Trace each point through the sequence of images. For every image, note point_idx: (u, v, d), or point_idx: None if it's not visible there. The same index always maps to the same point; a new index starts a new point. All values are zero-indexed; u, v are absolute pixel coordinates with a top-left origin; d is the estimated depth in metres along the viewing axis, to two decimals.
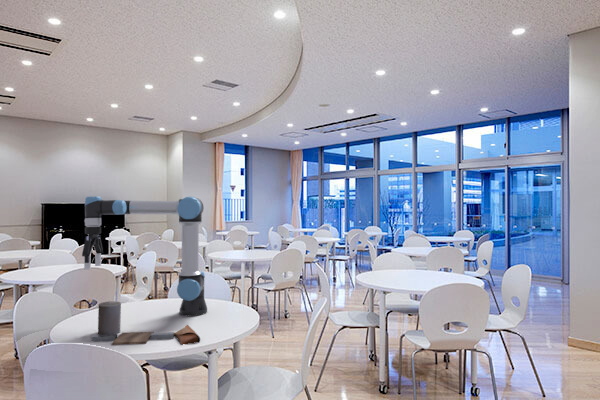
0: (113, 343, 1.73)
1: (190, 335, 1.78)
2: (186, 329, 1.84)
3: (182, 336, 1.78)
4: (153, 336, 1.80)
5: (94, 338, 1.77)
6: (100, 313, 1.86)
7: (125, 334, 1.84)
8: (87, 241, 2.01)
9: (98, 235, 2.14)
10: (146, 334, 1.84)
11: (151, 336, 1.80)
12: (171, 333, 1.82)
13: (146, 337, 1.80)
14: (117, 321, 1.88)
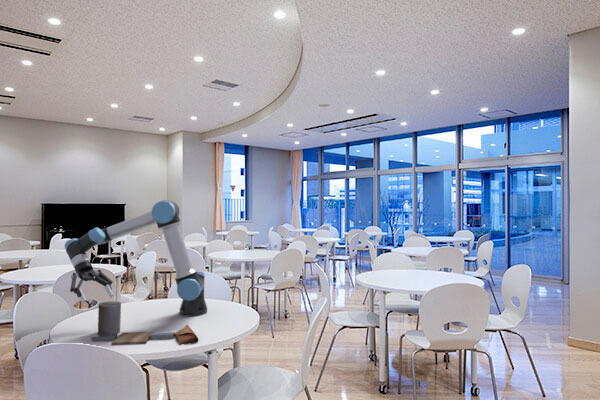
0: (113, 343, 1.73)
1: (188, 335, 1.77)
2: (185, 329, 1.83)
3: (181, 336, 1.78)
4: (153, 336, 1.80)
5: (94, 338, 1.77)
6: (100, 313, 1.86)
7: (125, 334, 1.84)
8: (73, 278, 1.94)
9: None
10: (146, 334, 1.84)
11: (151, 336, 1.80)
12: (171, 333, 1.82)
13: (146, 337, 1.80)
14: (117, 321, 1.88)
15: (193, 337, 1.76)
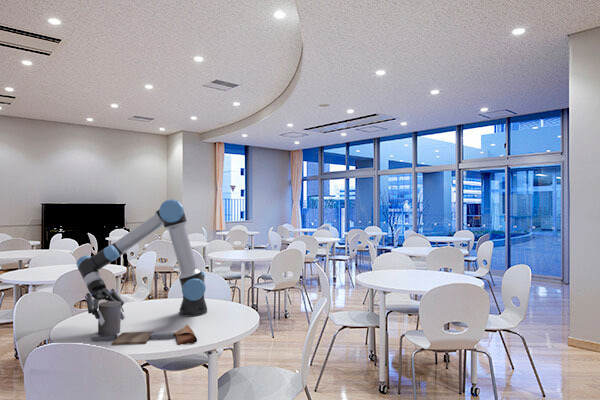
0: (113, 343, 1.73)
1: (187, 335, 1.77)
2: (185, 329, 1.84)
3: (180, 336, 1.78)
4: (153, 336, 1.80)
5: (94, 338, 1.77)
6: None
7: (125, 334, 1.84)
8: (87, 299, 1.88)
9: (111, 289, 2.00)
10: (146, 334, 1.84)
11: (151, 336, 1.80)
12: (171, 333, 1.82)
13: (146, 337, 1.80)
14: (117, 321, 1.88)
15: (192, 337, 1.76)
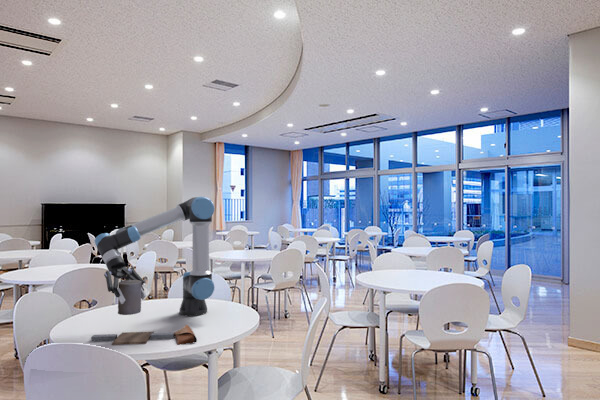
0: (113, 343, 1.73)
1: (187, 335, 1.77)
2: (185, 329, 1.84)
3: (179, 336, 1.78)
4: (153, 336, 1.80)
5: (94, 338, 1.77)
6: None
7: (125, 334, 1.84)
8: (107, 277, 1.80)
9: None
10: (146, 334, 1.84)
11: (151, 336, 1.80)
12: (171, 333, 1.82)
13: (146, 337, 1.80)
14: (138, 300, 1.80)
15: (191, 337, 1.76)
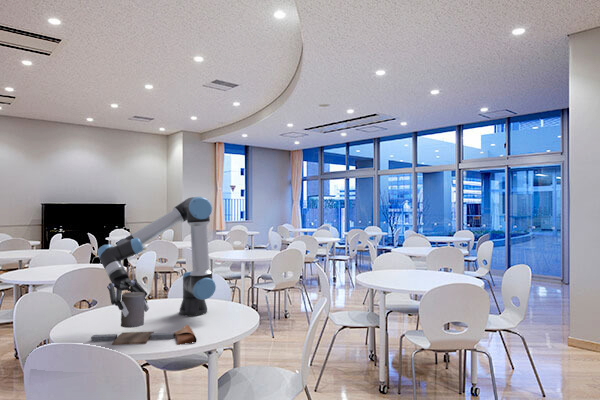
0: (113, 343, 1.73)
1: (187, 335, 1.78)
2: (184, 329, 1.84)
3: (179, 336, 1.79)
4: (153, 336, 1.80)
5: (94, 338, 1.77)
6: None
7: (125, 334, 1.84)
8: (110, 289, 1.79)
9: (133, 280, 1.90)
10: (146, 334, 1.84)
11: (151, 336, 1.80)
12: (171, 333, 1.82)
13: (146, 337, 1.80)
14: (141, 312, 1.79)
15: (191, 337, 1.76)
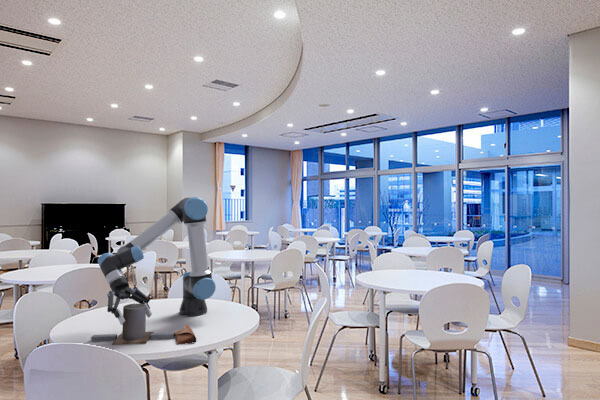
0: (113, 343, 1.73)
1: (187, 335, 1.78)
2: (184, 329, 1.84)
3: (179, 336, 1.79)
4: (153, 336, 1.80)
5: (94, 338, 1.77)
6: (125, 316, 1.77)
7: None
8: (109, 297, 1.79)
9: None
10: (146, 334, 1.84)
11: (151, 336, 1.80)
12: (171, 333, 1.82)
13: (146, 337, 1.80)
14: (143, 324, 1.79)
15: (191, 337, 1.76)
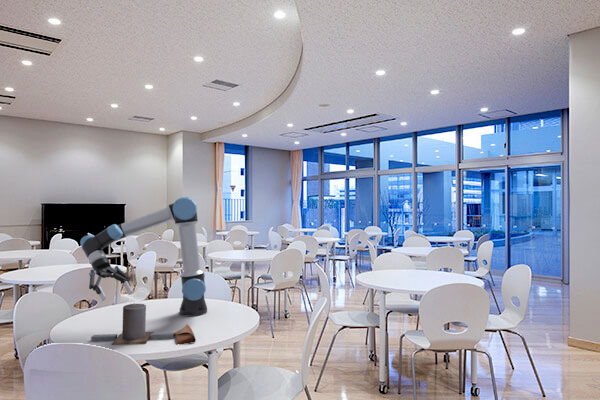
0: (113, 343, 1.73)
1: (186, 335, 1.78)
2: (184, 329, 1.84)
3: (179, 336, 1.79)
4: (153, 336, 1.80)
5: (94, 338, 1.77)
6: (125, 316, 1.77)
7: None
8: (91, 275, 1.89)
9: (115, 267, 2.00)
10: (146, 334, 1.84)
11: (151, 336, 1.80)
12: (171, 333, 1.82)
13: (146, 337, 1.80)
14: (143, 324, 1.79)
15: (190, 337, 1.76)
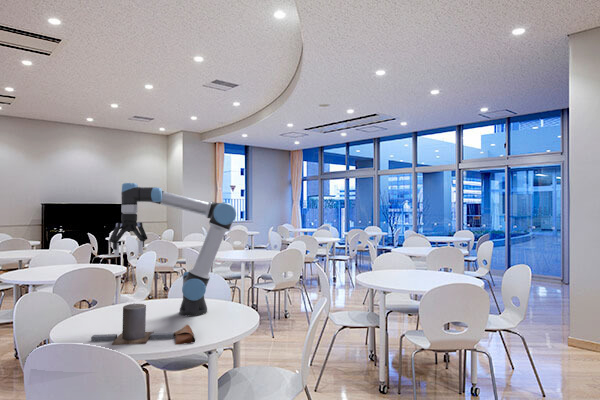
0: (113, 343, 1.73)
1: (186, 335, 1.78)
2: (184, 329, 1.84)
3: (178, 336, 1.79)
4: (153, 336, 1.80)
5: (94, 338, 1.77)
6: (125, 316, 1.77)
7: None
8: (116, 228, 2.00)
9: (139, 222, 2.11)
10: (146, 334, 1.84)
11: (151, 336, 1.80)
12: (171, 333, 1.82)
13: (146, 337, 1.80)
14: (143, 324, 1.79)
15: (190, 337, 1.76)
